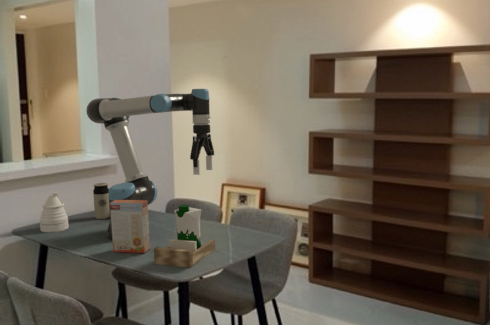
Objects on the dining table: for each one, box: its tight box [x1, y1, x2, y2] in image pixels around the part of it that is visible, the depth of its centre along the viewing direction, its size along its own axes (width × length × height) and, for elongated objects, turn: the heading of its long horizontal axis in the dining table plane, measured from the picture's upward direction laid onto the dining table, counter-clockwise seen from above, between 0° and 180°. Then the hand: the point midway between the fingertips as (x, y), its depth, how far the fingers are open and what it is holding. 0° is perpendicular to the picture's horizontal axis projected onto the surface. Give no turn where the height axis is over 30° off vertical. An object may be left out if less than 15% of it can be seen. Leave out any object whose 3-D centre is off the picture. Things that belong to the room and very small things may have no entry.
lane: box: [153, 239, 216, 269], centre depth 194 cm, size 15×23×6 cm, turn 160°
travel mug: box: [92, 182, 110, 220], centre depth 261 cm, size 8×8×18 cm
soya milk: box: [173, 204, 202, 249], centre depth 196 cm, size 9×9×20 cm
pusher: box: [168, 238, 197, 253], centre depth 192 cm, size 11×2×7 cm, turn 70°
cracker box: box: [110, 200, 151, 254], centre depth 202 cm, size 14×6×21 cm, turn 77°
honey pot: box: [39, 191, 69, 233], centre depth 241 cm, size 13×13×18 cm
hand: (203, 172), depth 220 cm, fingers open, 13 cm apart
